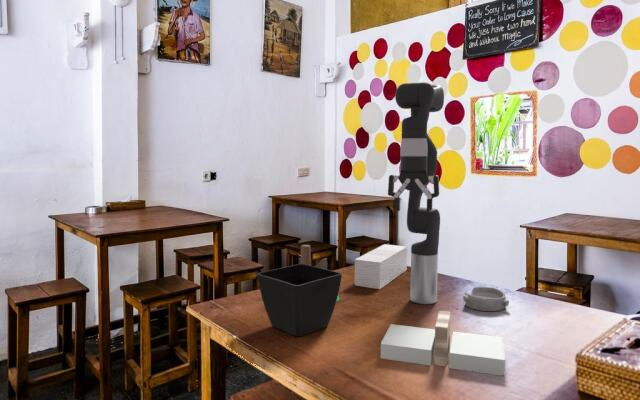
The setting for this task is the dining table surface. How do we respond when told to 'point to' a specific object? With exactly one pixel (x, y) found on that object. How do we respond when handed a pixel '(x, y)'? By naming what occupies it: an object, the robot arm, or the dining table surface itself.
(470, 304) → the dish
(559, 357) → the dining table surface
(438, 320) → the beige metallic bar
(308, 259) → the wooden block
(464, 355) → the slotted board
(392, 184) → the robot arm
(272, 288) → the flower pot
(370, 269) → the long white block
